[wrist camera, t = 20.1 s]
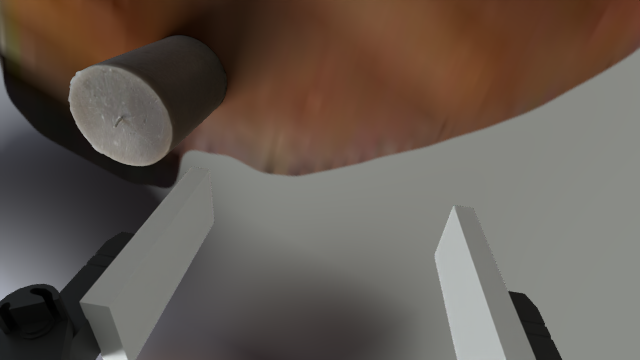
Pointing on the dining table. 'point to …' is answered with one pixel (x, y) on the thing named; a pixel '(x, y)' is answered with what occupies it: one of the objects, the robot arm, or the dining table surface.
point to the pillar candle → (147, 98)
